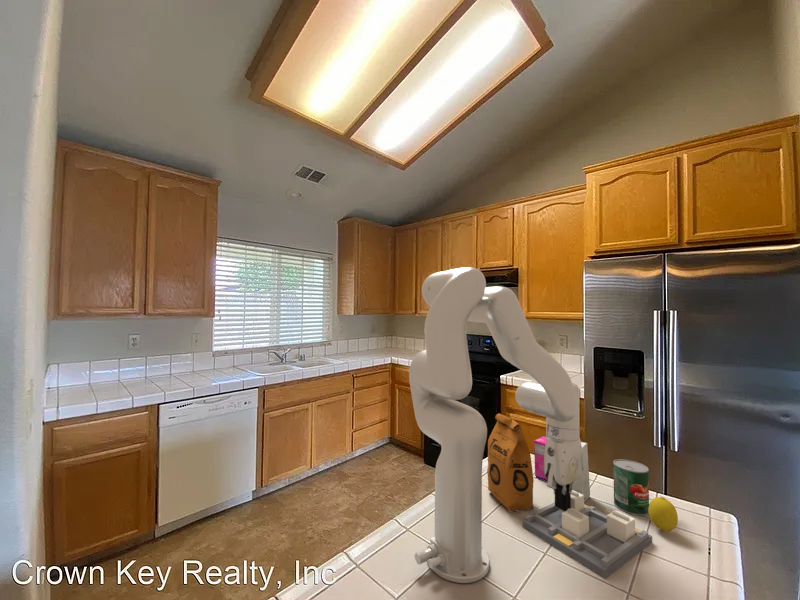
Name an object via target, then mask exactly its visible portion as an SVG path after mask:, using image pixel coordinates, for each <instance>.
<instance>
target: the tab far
mask: <svg viewBox="0 0 800 600" xmlns="http://www.w3.org/2000/svg"><path fill="white" fill-rule="evenodd" d="M569 493H570V492H569ZM584 504H585V502H584V495H582V494H580V493H578V492H576V491H574V490H572V492H571V508H573V509H575V510H577V511H579V512H580V511H582V510H584Z"/></svg>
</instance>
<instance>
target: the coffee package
mask: <svg viewBox="0 0 800 600" xmlns="http://www.w3.org/2000/svg"><path fill="white" fill-rule="evenodd" d="M494 418H495V420H496V423H495V425H494V426H493V427H494V428H493V429H492V431H491V433H490V434H489V437H488V440H487V470H486V473H487V488H488V489H487V490H488V491H489V492H490V493H491V494H492V495H493V496H494V497H495V498H496V499H497V501H498V502H499V503H500V504H501V505H503V506H504V507H505V508H506V509H507V510H508V511H509V512H511V513H513V512H521V511H525V512H526V511H528V512H529V511H530V510H531V511H532V510H533V509H534V474H533V466H532V464H533V463H532V457H531V455H532V454H531V451H530V448H529V445H528V443H527V440H526V436H525V434H524V432H523V429H522V427H521V424H520V423H518V422H517V421H516V420H514V418H511V417H508V416H506V415H504V414H501V413H497V414H496V415H495V417H494Z"/></svg>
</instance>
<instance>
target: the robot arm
mask: <svg viewBox="0 0 800 600" xmlns="http://www.w3.org/2000/svg"><path fill="white" fill-rule="evenodd" d="M421 294H422V298H423V300H424V301H425V303H426V304H427V305H428V306H429V307H430V308H429V309H428V311H427V314H426V318H425V321H424V341H425V349H423V350H421V351H419V352H418V353H417V354H415V356H414V357H413V358H412V360H411V362H410V365H409V369H408V370H409V372H408V377H409V378H408V380H409V388H410V394H411V401H412V405H413V412H414V417H415V418H414V419H415V421H416V424H417V426H418V427H419V429H420V431H421V432H422V433H423V434H424V435H426V436H427V437H428V438H431V439H432V440H434V442H436V443H438V444H439V445H440V446H441V450H440V453H439V455H438V458H437V461H436V464H435V470H434V535H433V536H432V537H430V538H429V539H430V543H429V544H428V545H427V546H426V549H422V550H420V551H418V552H416V553H415V554H414V559H415V563H416V564H417V565H419V566H420V565H422V564H424V563H426V562H427V563H428V567H429V568H430V569H431V570H432V571H433V572H434V574H436V575H437V576H438V577H441V578H442V579H444V580H447V581H450V582H453V583H457V584H458V583H459V584H469V583H470V584H471V583H474V582H478V581H480V580H481V579H483V578H484V577H485V576H487V574H488V572H489V570H490V562H491V561H490V556H489V554H488V552H487V550H486V549H485V548H484V547H483V545H482V543H483V542H482V541H483V540H482V538H483V537H482V533H483V532H482V528H483V527H482V521H483V518H482V517H483V516H482V515H483V514H482V511H483V508H482V507H483V506H482V504H483V501H482V499H483V495H482V493H483V490H482V489H483V486H482V485H483V482H482V481H483V478H482V477H483V461H484V460H483V458H484V454H485V453H484V452H485V447H486V443H487V437H488V427H487V422H486V420H485V418H484V417H483V415H482V414H481V413H480V412H479V411H478V410H477V409H475V408H473V407H472V406H470V405H467V404H465V403H463V402H460V401H458V400H462V399H464V398H466V397H467V396H468V395H469V394H470V392H471V391H472V386H473V377H472V376H473V374H472V367H471V361H470V354H469V348H468V339H467V324H468V322H470V323H484V324H486V326H487V328H488V330H489V333H490V334H491V336H492V339H493V341H494V343H495V345H496V347H497V349H498V352H499V354H500V356H501V357H502V358H503V359H504V360H505V361H506V362H508V363H510V364H511V365H512V366H514V367H516V368H517V369H518V370H521V371H523V372H524V373H525V374H527V375H529V376H530V377H531V378H532V379H534V380H535V381H534V380H529V381H525V382H522V383H521V384H519V386H517V388H516V391H515V393H514V394H515V401H516V403H517V404H518V406H519V407H520V408H521V409H523V410H524V411H527V412H529V413H532V414H535V415H537V416H542V417H545V422H546V423H545V425H546V426H545V430H546V431H545V437H546V444H545V452H544V476H545V478H546V479H548V482H547V483H546V484H547V485H546V486H547V487H548V488H550V489H552V490H553V489H554V490H555V494H554V502H555V506H556V507H558V508H560V509H562V510H564V511H567V509H569V508H570V509H571V492H572V484H573V482H574V481H577V480H579V479H581V478H582V477H583V454H582V445H581V442H582V440H581V438H580V436H581V435H580V429H581V428H580V418H581V417H580V414H581V413H580V388H579V385H577V384H576V383H574V382H572V379H571V378H570V375H569V374H568V372H567V370H566V369H565V367H563V366H562V364H561V363H560V362H559V361H558V360H557V359H555V357H554V356H553V355H551V354H550V352H548V351H547V350H546V349H545V348H544V347H543V346H542V345H540V344H539V342H537V340H536V338H535V336H534V333H533V332H532V330H531V329H532V328H531V327H530V324H529V321H528V320H527V318H526V316H525V312H524V311H523V308H522V306H521V303H520V301H519V300H518V297H517V295H516V293H515V292H514V291H513V290H512V289H511V288H509V287H506V286H498V285H497V286H496V285H495V286H487V281H486V277H485V276H484V273H483V272H482V271H481V270H479V269H478V268H476V267H471V266H467V267H466V266H465V267H463V266H462V267H459V268H458V267H457V268H452V269H448V270H443V271H438V272H435V273H431V274H430V275H428V276H427V277H426V278H425V279H424V281H423V283H422V285H421ZM554 490H553V491H554ZM569 492H570V493H569Z"/></svg>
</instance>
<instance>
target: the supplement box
mask: <svg viewBox="0 0 800 600" xmlns="http://www.w3.org/2000/svg"><path fill="white" fill-rule="evenodd" d="M546 438H547V436H541V437H539V438H537V439H535V440H533V447H534V448H533V453H534V458H533V459H534V477H535V476H536V477H535V478H537V477H538V478H537V479H539V478H540V480H542V481H544V480H545V482H547V483H548V479H546V478H545V476H544V452H545V444H546Z"/></svg>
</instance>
